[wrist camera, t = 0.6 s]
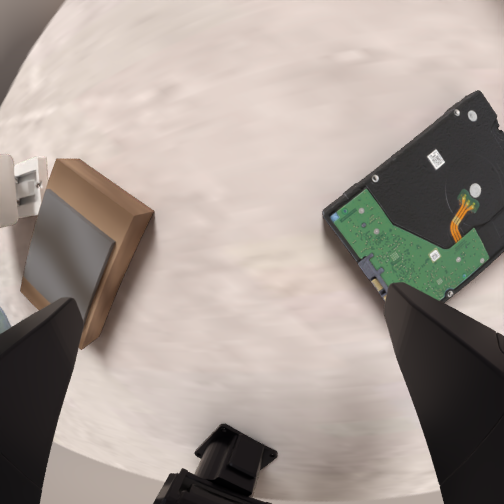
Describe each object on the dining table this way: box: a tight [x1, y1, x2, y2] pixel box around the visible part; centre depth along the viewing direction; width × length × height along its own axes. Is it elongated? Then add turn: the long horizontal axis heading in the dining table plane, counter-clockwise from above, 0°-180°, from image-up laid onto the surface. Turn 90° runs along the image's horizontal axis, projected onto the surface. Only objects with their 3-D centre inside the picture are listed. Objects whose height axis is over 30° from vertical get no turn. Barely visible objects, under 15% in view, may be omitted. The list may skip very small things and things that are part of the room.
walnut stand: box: [20, 159, 154, 350], centre depth 25 cm, size 14×9×4 cm, turn 148°
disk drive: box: [322, 90, 504, 303], centre depth 19 cm, size 10×3×15 cm
